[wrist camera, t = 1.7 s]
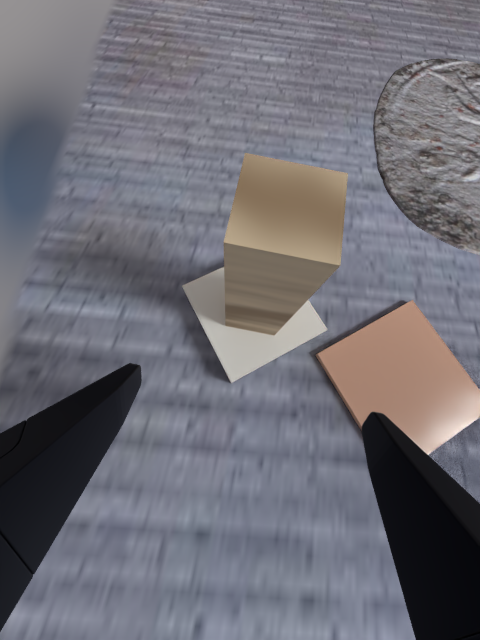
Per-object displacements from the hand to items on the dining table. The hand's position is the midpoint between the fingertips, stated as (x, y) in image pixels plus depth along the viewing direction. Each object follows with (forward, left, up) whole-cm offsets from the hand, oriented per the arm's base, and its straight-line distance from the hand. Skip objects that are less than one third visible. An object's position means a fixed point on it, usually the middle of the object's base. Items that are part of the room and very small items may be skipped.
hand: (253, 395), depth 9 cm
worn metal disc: (+45, +12, -14) cm, 48 cm away
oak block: (+5, +6, -11) cm, 14 cm away
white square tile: (+5, +6, -13) cm, 15 cm away
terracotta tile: (+14, -7, -13) cm, 21 cm away
